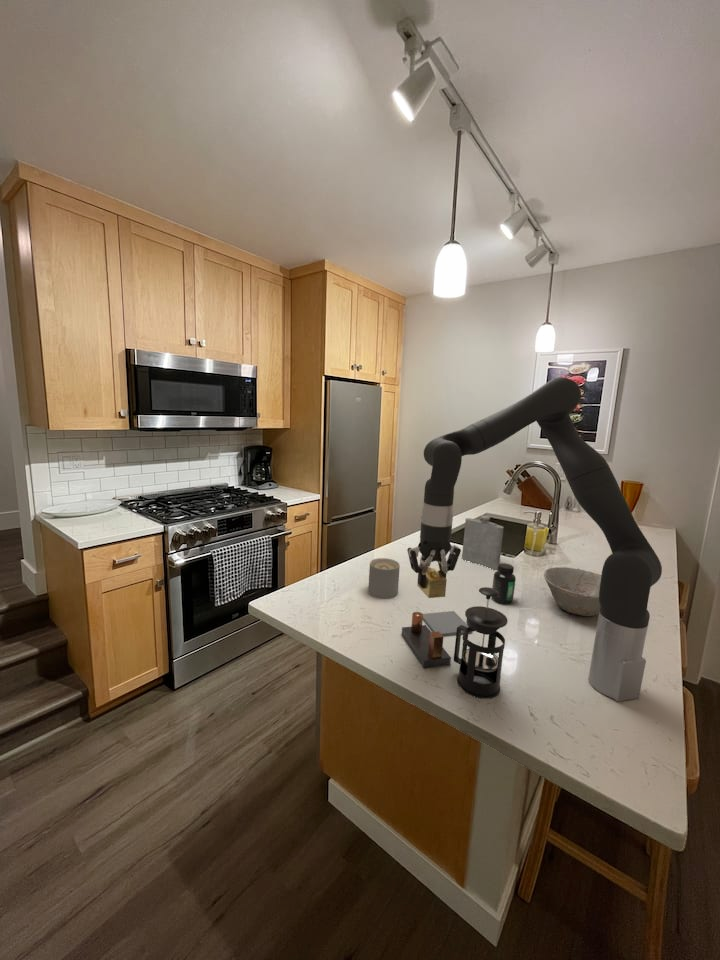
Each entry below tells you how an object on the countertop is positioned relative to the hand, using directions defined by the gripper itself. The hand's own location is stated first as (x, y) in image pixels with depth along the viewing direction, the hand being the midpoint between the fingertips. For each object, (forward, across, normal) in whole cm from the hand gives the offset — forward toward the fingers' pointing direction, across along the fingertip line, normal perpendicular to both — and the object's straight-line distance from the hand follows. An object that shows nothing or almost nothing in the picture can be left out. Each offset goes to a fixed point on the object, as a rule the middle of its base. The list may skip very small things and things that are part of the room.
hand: (431, 586), depth 103 cm
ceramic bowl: (+17, +58, +10) cm, 61 cm away
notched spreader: (+17, +47, +50) cm, 71 cm away
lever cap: (+1, 0, 0) cm, 1 cm away
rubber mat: (+17, +10, +10) cm, 22 cm away
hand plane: (+17, -1, 0) cm, 17 cm away
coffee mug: (+17, +1, +34) cm, 38 cm away
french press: (+17, +6, -15) cm, 24 cm away
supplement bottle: (+17, +37, +20) cm, 45 cm away
